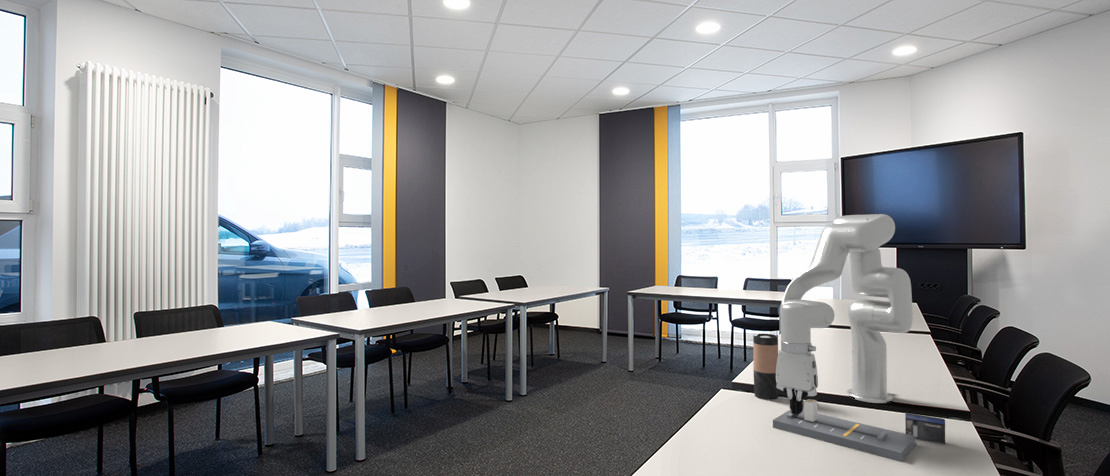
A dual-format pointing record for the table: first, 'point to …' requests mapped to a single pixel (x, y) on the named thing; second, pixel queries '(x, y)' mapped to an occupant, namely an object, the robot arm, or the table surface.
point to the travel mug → (765, 366)
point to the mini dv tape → (925, 427)
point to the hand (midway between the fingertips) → (796, 413)
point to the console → (849, 434)
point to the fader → (810, 410)
